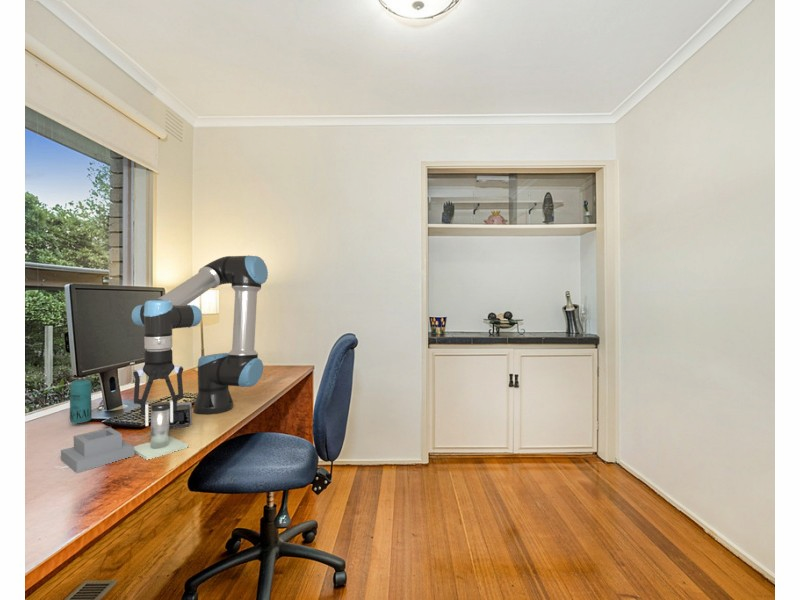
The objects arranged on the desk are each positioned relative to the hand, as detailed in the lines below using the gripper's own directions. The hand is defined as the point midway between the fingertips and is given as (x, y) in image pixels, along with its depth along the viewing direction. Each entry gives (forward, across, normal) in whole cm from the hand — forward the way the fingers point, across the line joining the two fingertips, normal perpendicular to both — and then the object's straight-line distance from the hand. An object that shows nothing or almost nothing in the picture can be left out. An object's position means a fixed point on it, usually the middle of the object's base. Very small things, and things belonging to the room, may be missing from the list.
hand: (159, 422), depth 127 cm
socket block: (+8, -16, +2) cm, 18 cm away
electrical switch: (+9, +7, +20) cm, 22 cm away
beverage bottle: (+9, -23, +43) cm, 49 cm away
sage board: (+8, 0, 0) cm, 8 cm away
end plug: (+7, 0, 0) cm, 7 cm away
